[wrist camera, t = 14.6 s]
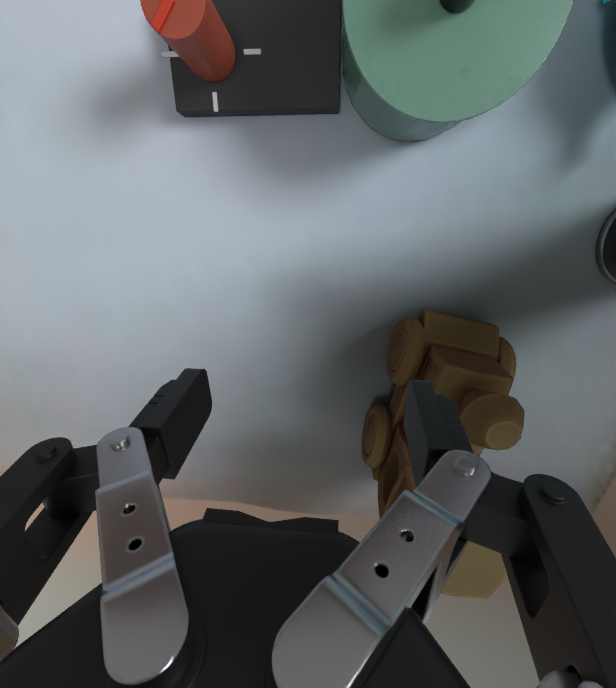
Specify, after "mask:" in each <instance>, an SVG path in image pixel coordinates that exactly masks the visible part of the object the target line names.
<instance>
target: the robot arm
mask: <svg viewBox="0 0 616 688" xmlns="http://www.w3.org/2000/svg"><path fill="white" fill-rule="evenodd" d="M597 259H598V263H599V266H600V268H601V270H602V272H603V273H604V275H605V276H606V277H607V278H608V279H609V280H611V281H612V282H614V283H616V210H615V211H614V212H613V213H612V214H611V215H610V217H609V218H608V220H607V221H606V223H605V225H604V226H603V228H602V231H601V233H600V236H599V239H598V244H597ZM211 409H212V398H211V393H210V387H209V381H208V376H207V372H206V370H205V369H191V368H186V369H184V370H183V372H182V373H181V374H180V375H179V377H178V378H177V379H176V380H171V381H169V382H168V383H166V384H165V385H163V386H162V387H161V388H160V389H159V390H158V391H157V392H156V394H155V395H154V397H152V398H151V400H150V401H149V402H148V404H147V405H146V406H145V407H144V408H143V409H142V411H141V412H140V413H139V414H138V416H137V417H136V418H135V419H134V420H133V422H132V423H131V424H130V425H129V427H124V428H120V429H117V430H114V431H112V432H110V433H108V434H107V435H105V436H104V437H103V438H102V439H101V440H100V441H99V442H98V444H97V445H93V446H87V447H81V448H75V449H73V446H72V444H71V442H70V440H68V439H67V438H61V437H58V438H51V439H48V440H44V441H42V442H40V443H38V444H36V445H34V446H32V447H31V448H30V449H28V450H27V451H26V452H25V453H24V454H23V455H22V456H21V457H20V458H19V459H18V460H17V461H16V462H15V463H14V464H13V465H12V466H11V467H10V468H9V469H8V470H7V471H6V472H5V473H4V474H3V475H2V476H1V477H0V688H470V686H469V685H468V684H467V682H466V681H465V680H464V678H463V677H462V675H461V674H460V673H459V671H458V670H457V669H456V667H455V666H454V664H452V662H451V660H450V659H449V658H448V656H447V655H446V654H445V652H444V651H443V650H442V648H441V647H440V645H439V644H438V643H437V641H436V640H435V639H434V637H433V636H432V634H431V633H430V632H429V630H428V629H427V628H426V626H425V623H426V622H427V620H428V618H429V616H430V614H431V612H432V611H433V609H434V607H435V605H436V603H437V600H438V598H439V596H440V593H441V591H442V589H443V587H444V585H445V583H446V581H447V580H448V578H449V576H450V574H451V573H452V571H453V569H454V567H455V566H456V564H457V562H458V560H459V559H460V557H461V555H462V553H463V552H464V550H465V548H466V546H467V545H468V543H469V541H470V542H473V543H475V544H478V545H481V546H483V547H486V548H488V549H491V550H493V551H496V552H498V553H501V556H502V559H503V562H504V566H505V569H506V572H507V575H508V578H509V582H510V585H511V589H512V592H513V595H514V598H515V602H516V605H517V608H518V612H519V615H520V618H521V622H522V625H523V628H524V632H525V635H526V638H527V642H528V645H529V648H530V651H531V655H532V658H533V661H534V665H535V668H536V671H537V675H538V678H539V681H540V683H539V685H538V686H537V688H616V558H615V556H614V554H613V553H612V551H611V549H610V548H609V546H608V544H607V542H606V541H605V539H604V538H603V536H602V534H601V532H600V530H599V529H598V527H597V525H596V524H595V522H594V520H593V518H592V517H591V515H590V513H589V511H588V510H587V508H586V506H585V505H584V503H583V501H582V499H581V498H580V496H579V495H578V494H577V492H576V491H575V490H574V489H573V488H571V487H570V486H569V485H568V484H566V483H564V482H563V481H561V480H559V479H557V478H554V477H552V476H548V475H543V474H533V475H530V476H528V477H527V478H526V479H525V480H524V482H523V483H521V482H518V481H514V480H511V479H508V478H505V477H502V476H499V475H497V474H495V473H493V472H491V470H490V468H489V466H488V465H487V463H486V462H485V461H484V460H483V459H482V458H480V457H479V456H477V455H475V454H474V452H473V449H472V447H471V444H470V442H469V439H468V437H467V434H466V432H465V429H464V427H463V424H462V422H461V419H460V417H459V416H458V412H457V409H456V407H455V404H454V403H453V402H452V401H451V400H450V399H449V398H448V397H447V396H446V395H436V394H435V391H434V389H433V386H432V383H431V381H421V380H410V382H409V386H408V393H407V400H406V407H405V415H404V425H405V432H406V438H407V443H408V449H409V454H410V459H411V465H412V470H413V476H414V481H415V487H416V489H415V490H414V491H411V490H410V489H406V490H405V491H404V492H403V493H402V494H401V495H400V496H399V497H398V498H397V500H396V501H395V502H394V503H393V504H392V506H391V507H390V508H389V509H388V510H387V511H386V513H385V514H384V515H383V516H382V517H381V519H380V520H379V521H378V522H377V523H376V524H375V526H374V527H373V528H372V529H371V530H370V532H369V533H368V534H367V535H366V536H365V537H364V539H363V540H362V541H361V542H358V541H357V540H355V539H354V538H352V537H350V536H348V535H345V534H344V533H341V532H339V531H338V520H330V519H319V518H307V517H303V518H296V519H289V520H283V521H276V522H267V521H264V520H261V519H259V518H256V517H254V516H250V515H248V514H245V513H243V512H240V511H233V510H223V509H212V508H207V509H206V512H205V515H204V517H203V519H200V520H196V521H192V522H189V523H186V524H184V525H182V526H180V527H177V528H176V529H174V530H172V531H171V529H170V525H169V521H168V518H167V514H166V511H165V507H164V503H163V499H162V496H161V492H160V488H159V483H160V482H161V480H162V478H165V479H175V478H176V476H177V474H178V472H179V471H180V469H181V467H182V465H183V463H184V461H185V460H186V458H187V456H188V454H189V452H190V450H191V449H192V447H193V445H194V443H195V441H196V440H197V438H198V436H199V434H200V432H201V430H202V429H203V427H204V425H205V423H206V421H207V419H208V418H209V416H210V413H211ZM41 503H43V505H44V506H45V507H44V509H43V510H42V511H41V512H40V513H39V515H38V516H37V517H36V519H35V520H34V521H33V522H32V523H31V525H30V526H29V527H28V528H27V530H26V531H25V526H26V523H27V521H28V519H29V518H30V516H31V515H32V514H33V513H34V511H35V510H36V509H37V508H38V507H39V505H40V504H41ZM95 510H97V521H98V535H99V547H100V561H101V574H102V583H101V584H99V585H98V586H97V587H95V588H94V589H93V590H91V591H90V592H89V593H88V594H86V595H85V596H83V597H82V598H81V599H80V600H78V601H77V602H76V603H74V604H73V605H72V606H70V607H69V608H68V609H67V610H65V611H64V612H62V613H61V614H60V615H58V616H57V617H56V618H55V619H53V620H52V621H50V622H49V623H48V624H46V625H45V626H44V627H42V628H41V629H40V630H38V631H37V632H36V633H34V634H33V635H32V636H31V637H29V638H28V639H27V640H25V641H24V642H23V643H21V644H20V645H19V646H18V647H16V648H15V646H16V644H17V641H18V637H19V629H18V625H19V623H20V622H21V620H22V619H23V617H24V616H25V614H26V613H27V611H28V610H29V608H30V607H31V605H32V604H33V602H34V601H35V599H36V598H37V596H38V595H39V593H40V591H41V590H42V588H43V587H44V585H45V584H46V582H47V581H48V579H49V578H50V576H51V574H52V573H53V572H54V570H55V569H56V567H57V566H58V564H59V563H60V561H61V560H62V558H63V556H64V555H65V553H66V552H67V550H68V549H69V547H70V546H71V544H72V543H73V541H74V540H75V538H76V537H77V535H78V534H79V532H80V531H81V529H82V528H83V526H84V525H85V523H86V522H87V520H88V518H89V517H90V515H91V514H92V512H93V511H95ZM14 648H15V649H14Z"/></svg>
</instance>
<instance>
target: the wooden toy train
mask: <svg viewBox="0 0 616 688" xmlns="http://www.w3.org/2000/svg"><path fill="white" fill-rule="evenodd" d="M515 372H516V356H515V353H514V350H513V348H512V346H511V345H510V344H509V342H508V341H507V340H505V339H504V338H502V337H500V336H499V328H498V327H497V326H495V325H493V324H489V323H484V322H480V321H475V320H471V319H466V318H461V317H457V316H452V315H448V314H443V313H439V312H434V311H430V310H425V309H422V311H421V314H420V317H419V320H417V319H416V318H413V317H411V318H406V319H405V320H403V321H401V322H400V323H399V325H398V326H397V328H396V329H395V331H394V334H393V337H392V339H391V343H390V347H389V351H388V358H387V373H388V376H389V378H390V379H391V381H392V382H393V383H394V384H396V387H395V390H394V393H393V396H392V399H391V402H390V405H389V408H388V407H386V406H385V405H382V404H379V405H376V406H374V407H373V408H372V409H371V410H370V411H369V413H368V416H367V418H366V422H365V425H364V430H363V436H362V457H363V460H364V462H365V463H366V464H367V465H368V466H369V467H370V468H372V471H373V477H374V480H377V481H378V505H379V517H380V519H381V517H382V516H383V515H384V514H385V513H386V511H387V510H388V509H389V508H390V507H391V506H392V504H393V503H394V502H395V501H396V500H397V498H398V497H399V496H400V495H401V494H402V493H403V492H404V491H405V490H406V489H410V490H411V491H414V490H415V489H416V487H415V481H414V476H413V470H412V465H411V459H410V454H409V449H408V443H407V438H406V432H405V425H404V415H405V407H406V400H407V393H408V386H409V382H410V380H421V381H431V383H432V386H433V389H434V391H435V394H436V395H446V396H447V397H448V398H449V399H450V400H451V401H452V402H453V403H454V404H455V407H456V409H457V412H458V416H459V417H460V419H461V422H462V424H463V427H464V429H465V432H466V434H467V437H468V439H469V442H470V444H471V447H472V449H473V452H474V454H475V455H477V456H479V455H480V454H481V452H482V450H483V449H484V448H488V449H494V450H504V449H509V448H510V447H512V446H514V445H516V443H517V442H518V441H519V439H520V438H521V434H522V430H523V426H524V409H523V408H522V406H521V405H520V404H519V402H518V401H517V399H515V398H513V397H510V396H508V394H509V391H510V388H511V386H512V383H513V380H514V377H515ZM506 577H507V572H506V569H505V566H504V562H503V559H502V556H501V553H498V552H496V551H493V550H491V549H488V548H486V547H483V546H481V545H478V544H475V543H473V542H470V541H469V543H468V545H467V546H466V548H465V550H464V552H463V553H462V555H461V557H460V559H459V560H458V562H457V564H456V566H455V567H454V569H453V571H452V573H451V574H450V576H449V578H448V580H447V581H446V583H445V585H444V587H443V589H442V591H441V594H446V595H451V596H458V597H473V598H489V596H491V594H492V593H493V592H494V591H495V590H496V589H497V587H499V586H500V584H501V583H502V582H503V581H504V580H505V579H506Z"/></svg>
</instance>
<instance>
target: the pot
mask: <svg viewBox="0 0 616 688" xmlns="http://www.w3.org/2000/svg"><path fill="white" fill-rule="evenodd" d="M342 74H343V78H344V81H345V85H346V89H347V93H348V95H349V98H350V100H351V103H352V105H353V107H354V108H355V110H356V112H357V113H358V114H359V116H360V117H361V118H362V119H363V121H364V122H365V123H366V124H367V125H368V126H370V127H371V128H372V129H373V130H375V131H376V132H378V133H380V134H382V135H383V136H386V137H388V138H391V139H395V140H400V141H419V140H427V139H429V138H431V137H433V136H436V135H438V134H440V133H442V132H444V131H446V130H448V129H450V128H452V127H454V126H456V125H457V124H459V123H460V122H462V121H459V122H454V123H443V124H440V123H427V122H422V121H417V120H414V119H411V118H409V117H406V116H403V115H401V114H400V113H398V112H396V111H394V110H393V109H391V108H390V107H389V106H387V105H386V104H385V103H383V102H382V101H381V100H380V99H379V98H378V97H377V96H376V95H375V94H374V93H373V92H372V91H371V89H370V88H369V87H368V85H367V84H366V82H365V81H364V80H363V78H362V76H361V75H360V73H359V71H358V69H357V67H356V65H355V63H354V60H353V58H352V55H351V52H350V50H349V46H348V42H347V38H346V34H345V29H344V36H343V73H342Z"/></svg>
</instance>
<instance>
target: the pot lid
mask: <svg viewBox="0 0 616 688" xmlns="http://www.w3.org/2000/svg"><path fill="white" fill-rule="evenodd" d="M572 3H573V0H342V12H343V22H344V29H345V34H346V38H347V42H348V46H349V50H350V52H351V55H352V58H353V60H354V63H355V65H356V67H357V69H358V71H359V73H360V75H361V76H362V78H363V80H364V81H365V82H366V84H367V85H368V87H369V88H370V89H371V91H372V92H373V93H374V94H375V95H376V96H377V97H378V98H379V99H380V100H381V101H382V102H383V103H385V104H386V105H387V106H389V107H390V108H391V109H393V110H394V111H396V112H398V113H400V114H401V115H403V116H406V117H409V118H411V119H414V120H417V121H422V122H427V123H440V124H443V123H454V122H459V121H463V120H467V119H471V118H473V117H476V116H478V115H481V114H483V113H485V112H487V111H489V110H491V109H493V108H494V107H496V106H498V105H500V104H501V103H502V102H504V101H505V100H507V99H508V98H509V97H511V96H512V95H513V94H515V93H516V92H517V91H518V90H519V89H520V88H521V87H522V86H524V85H525V84H526V83H527V81H528V80H529V79H530V78H531V77H532V76H533V75H534V74H535V73H536V72H537V70H538V69H539V68H540V66H541V65H542V63H543V62H544V61H545V59H546V58H547V57H548V55H549V53H550V52H551V50H552V48H553V47H554V45H555V43H556V42H557V40H558V38H559V36H560V33H561V31H562V29H563V27H564V25H565V23H566V20H567V17H568V14H569V12H570V9H571V6H572Z"/></svg>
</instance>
